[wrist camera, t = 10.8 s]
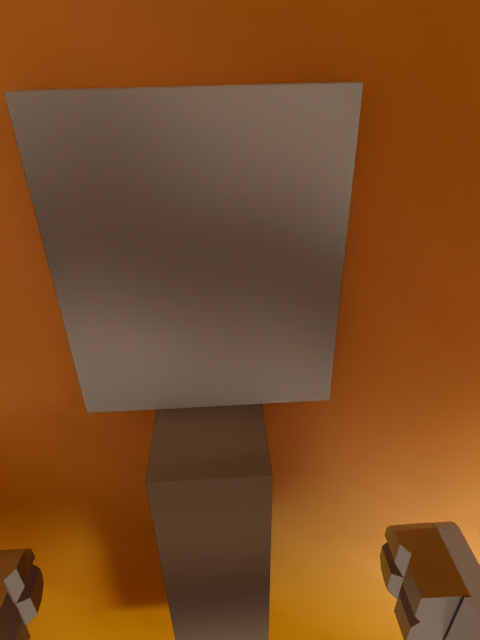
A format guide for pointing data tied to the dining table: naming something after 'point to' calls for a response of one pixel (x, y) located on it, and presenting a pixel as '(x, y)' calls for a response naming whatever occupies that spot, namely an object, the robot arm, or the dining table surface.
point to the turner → (198, 296)
